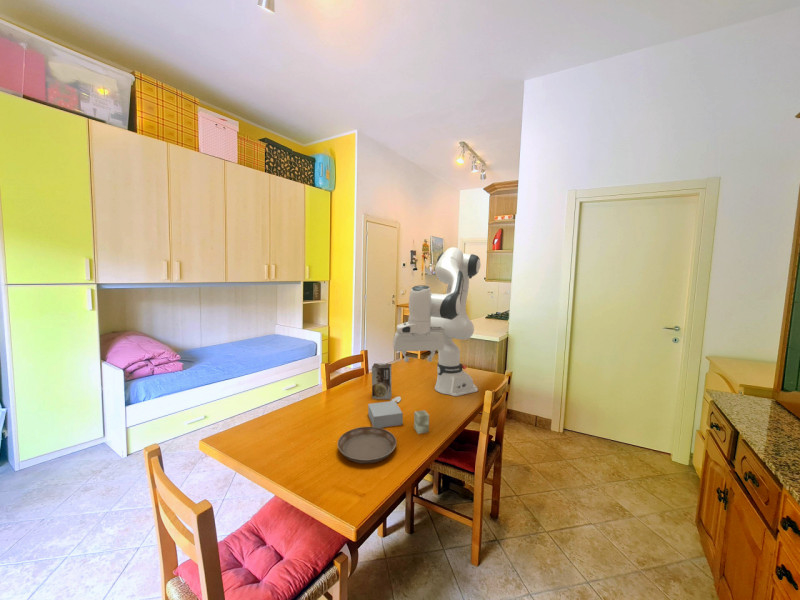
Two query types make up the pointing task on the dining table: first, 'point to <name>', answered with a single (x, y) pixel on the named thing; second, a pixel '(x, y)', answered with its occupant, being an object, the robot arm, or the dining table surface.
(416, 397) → the dining table surface
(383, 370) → the coffee box
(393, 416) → the plinth
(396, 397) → the spoon
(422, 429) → the sage block
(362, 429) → the plant saucer
